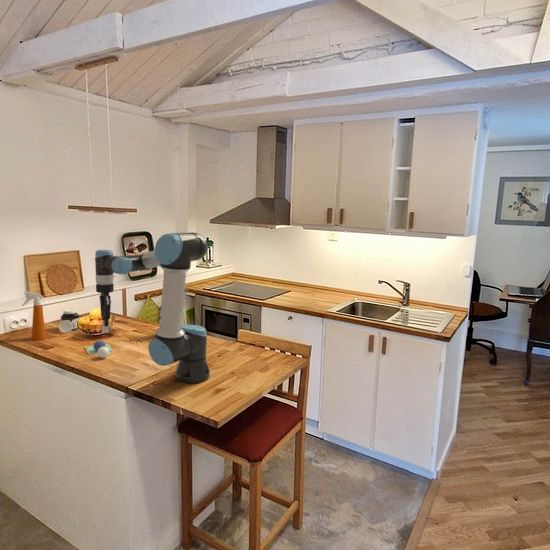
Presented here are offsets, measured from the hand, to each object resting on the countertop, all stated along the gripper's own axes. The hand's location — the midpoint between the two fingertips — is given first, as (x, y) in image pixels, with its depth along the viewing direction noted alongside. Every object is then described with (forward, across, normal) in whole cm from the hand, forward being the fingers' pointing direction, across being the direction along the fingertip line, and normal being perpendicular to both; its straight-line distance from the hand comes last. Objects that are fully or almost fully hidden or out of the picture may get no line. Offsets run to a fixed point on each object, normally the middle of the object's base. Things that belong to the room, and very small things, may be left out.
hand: (105, 332), depth 193 cm
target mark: (+14, +19, 0) cm, 24 cm away
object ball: (+12, +16, 0) cm, 20 cm away
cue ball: (+12, +6, 0) cm, 13 cm away
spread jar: (+15, +59, +8) cm, 61 cm away
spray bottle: (+15, +50, +26) cm, 58 cm away
